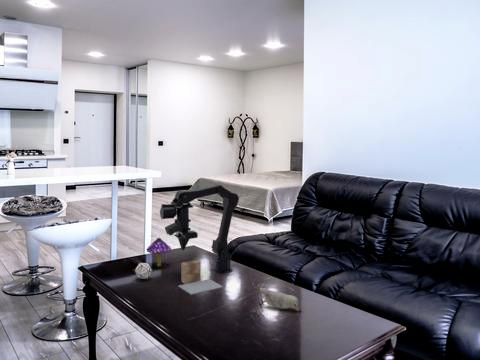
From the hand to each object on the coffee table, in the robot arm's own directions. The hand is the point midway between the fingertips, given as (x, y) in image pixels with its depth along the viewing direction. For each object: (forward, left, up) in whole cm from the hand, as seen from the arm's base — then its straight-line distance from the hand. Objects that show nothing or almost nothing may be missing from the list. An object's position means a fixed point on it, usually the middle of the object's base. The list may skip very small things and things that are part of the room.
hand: (182, 249), depth 195 cm
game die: (+17, -7, -13) cm, 23 cm away
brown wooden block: (0, +8, -13) cm, 15 cm away
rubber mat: (0, +17, -13) cm, 21 cm away
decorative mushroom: (+3, -21, -13) cm, 25 cm away
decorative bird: (-14, +54, -13) cm, 58 cm away
